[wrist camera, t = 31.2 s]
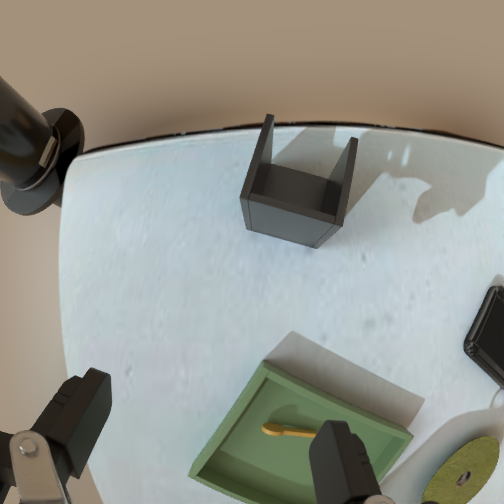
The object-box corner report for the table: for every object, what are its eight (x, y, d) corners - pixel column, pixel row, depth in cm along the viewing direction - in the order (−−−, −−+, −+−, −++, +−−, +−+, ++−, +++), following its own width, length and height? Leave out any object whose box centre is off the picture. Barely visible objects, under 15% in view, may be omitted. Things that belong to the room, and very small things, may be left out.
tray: (193, 462, 22) (187, 476, 19) (263, 359, 23) (263, 366, 20) (329, 515, 20) (333, 529, 18) (402, 426, 21) (414, 436, 19)
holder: (246, 229, 25) (239, 198, 17) (265, 164, 25) (266, 113, 17) (317, 249, 24) (342, 226, 16) (332, 183, 25) (358, 138, 17)
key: (263, 434, 20) (264, 430, 20) (259, 424, 22) (261, 420, 22) (318, 440, 20) (320, 436, 20) (312, 431, 22) (314, 427, 22)
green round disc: (401, 517, 19) (407, 526, 17) (433, 440, 21) (442, 447, 19) (471, 496, 19) (478, 502, 17) (501, 422, 20) (511, 427, 18)
